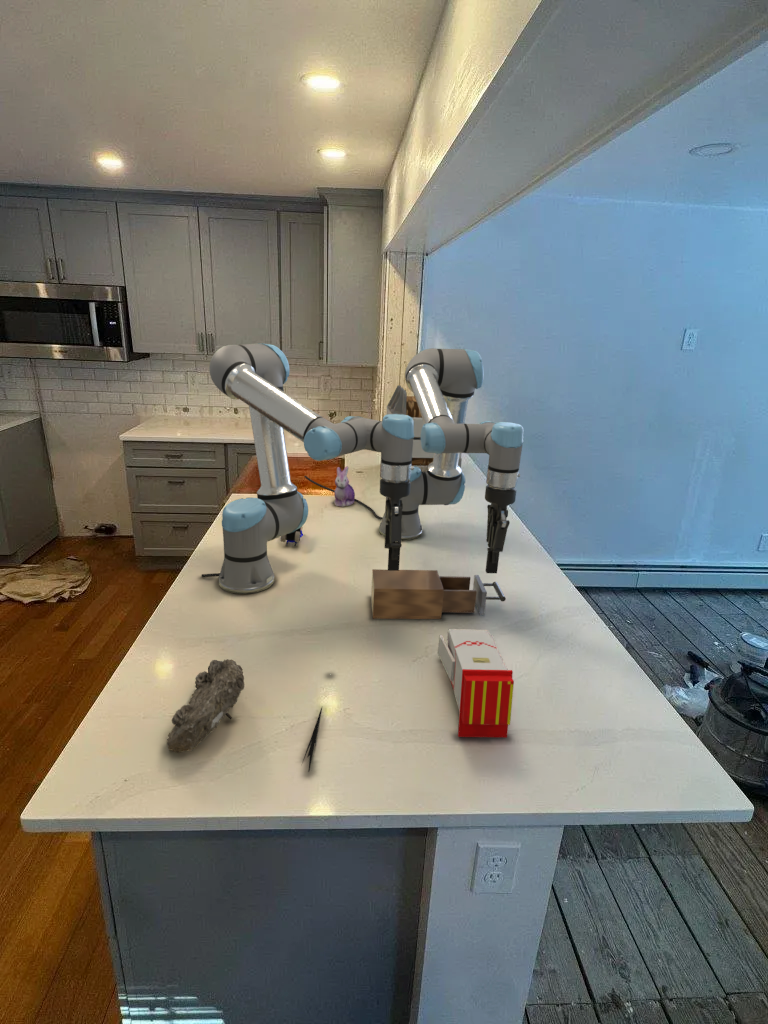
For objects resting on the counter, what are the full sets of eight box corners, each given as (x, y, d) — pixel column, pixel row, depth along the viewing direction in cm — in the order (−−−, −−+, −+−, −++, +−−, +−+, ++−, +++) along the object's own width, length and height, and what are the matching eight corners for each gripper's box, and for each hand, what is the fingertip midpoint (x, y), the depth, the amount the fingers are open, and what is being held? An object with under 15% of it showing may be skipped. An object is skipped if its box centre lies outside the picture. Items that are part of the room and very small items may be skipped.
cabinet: (434, 598, 156) (437, 570, 154) (441, 619, 146) (443, 589, 143) (371, 597, 155) (372, 569, 152) (372, 618, 145) (374, 588, 142)
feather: (331, 679, 122) (336, 673, 122) (307, 777, 96) (313, 769, 95) (324, 675, 122) (329, 669, 121) (298, 772, 95) (304, 764, 95)
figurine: (338, 508, 222) (338, 471, 216) (328, 500, 230) (328, 464, 225) (360, 505, 226) (361, 469, 221) (349, 498, 234) (350, 462, 229)
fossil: (192, 660, 117) (244, 628, 112) (224, 691, 120) (276, 661, 115) (142, 746, 98) (202, 712, 93) (182, 779, 101) (242, 748, 96)
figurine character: (300, 552, 184) (305, 530, 197) (300, 532, 181) (305, 511, 194) (280, 552, 184) (286, 530, 197) (279, 531, 180) (285, 510, 194)
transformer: (382, 463, 289) (386, 382, 275) (445, 464, 293) (451, 384, 279) (390, 482, 257) (394, 392, 243) (460, 483, 261) (468, 394, 247)
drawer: (495, 597, 157) (497, 575, 154) (504, 615, 147) (507, 592, 145) (416, 596, 155) (418, 574, 153) (421, 614, 146) (422, 591, 144)
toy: (488, 613, 130) (523, 677, 101) (484, 667, 133) (517, 744, 104) (435, 612, 130) (455, 676, 101) (432, 666, 133) (451, 743, 103)
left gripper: (416, 495, 127) (410, 580, 134) (406, 465, 150) (401, 539, 157) (382, 494, 126) (379, 580, 133) (377, 465, 150) (374, 539, 157)
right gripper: (523, 494, 135) (511, 583, 143) (509, 478, 147) (499, 561, 155) (492, 493, 134) (482, 583, 142) (480, 478, 146) (472, 561, 154)
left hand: (391, 558), depth 145 cm, fingers open, 13 cm apart
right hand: (491, 572), depth 148 cm, fingers closed
